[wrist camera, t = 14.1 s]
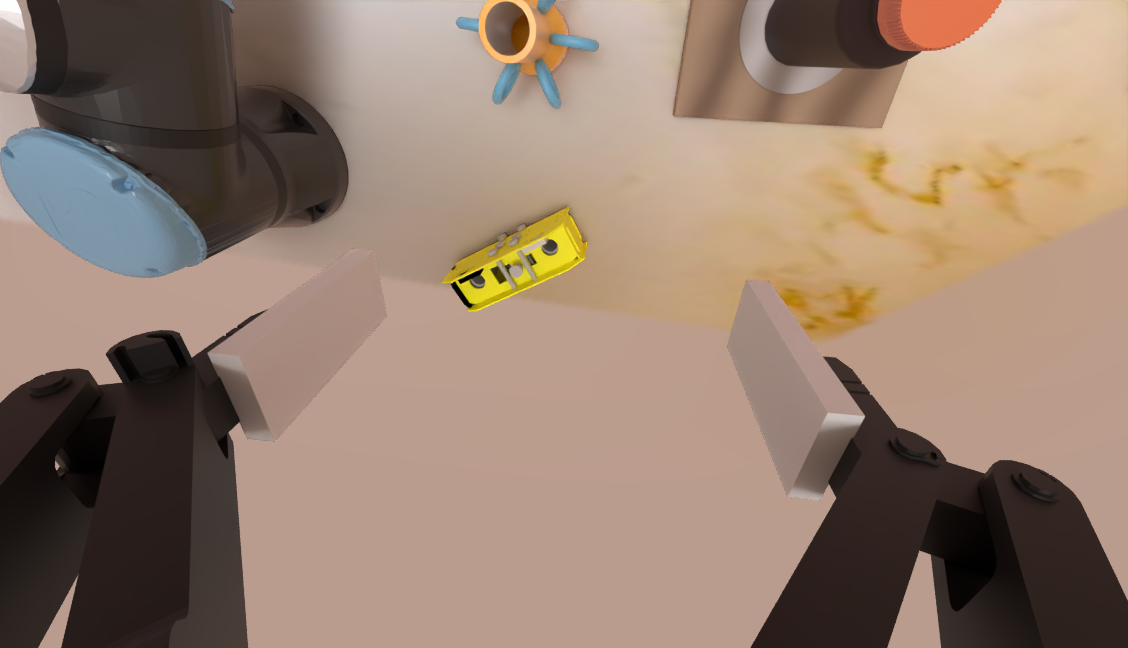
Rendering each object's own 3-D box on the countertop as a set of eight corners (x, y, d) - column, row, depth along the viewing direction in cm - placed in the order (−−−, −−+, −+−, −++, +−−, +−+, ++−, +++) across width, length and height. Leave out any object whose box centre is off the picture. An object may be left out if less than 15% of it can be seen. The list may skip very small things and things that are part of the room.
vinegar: (835, 62, 40) (1002, 64, 23) (758, 70, 41) (862, 77, 24) (854, -32, 36) (1067, -113, 19) (769, -22, 37) (900, -91, 20)
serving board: (673, 114, 45) (675, 116, 43) (705, -95, 37) (710, -103, 35) (873, 126, 44) (883, 128, 42) (954, -88, 35) (971, -95, 34)
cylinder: (612, 78, 44) (612, 84, 31) (522, 124, 47) (487, 148, 34) (560, -66, 39) (534, -129, 26) (462, -3, 42) (395, -31, 29)
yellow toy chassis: (567, 200, 51) (559, 223, 44) (588, 242, 53) (585, 270, 46) (457, 256, 56) (434, 284, 49) (481, 292, 58) (462, 324, 51)
